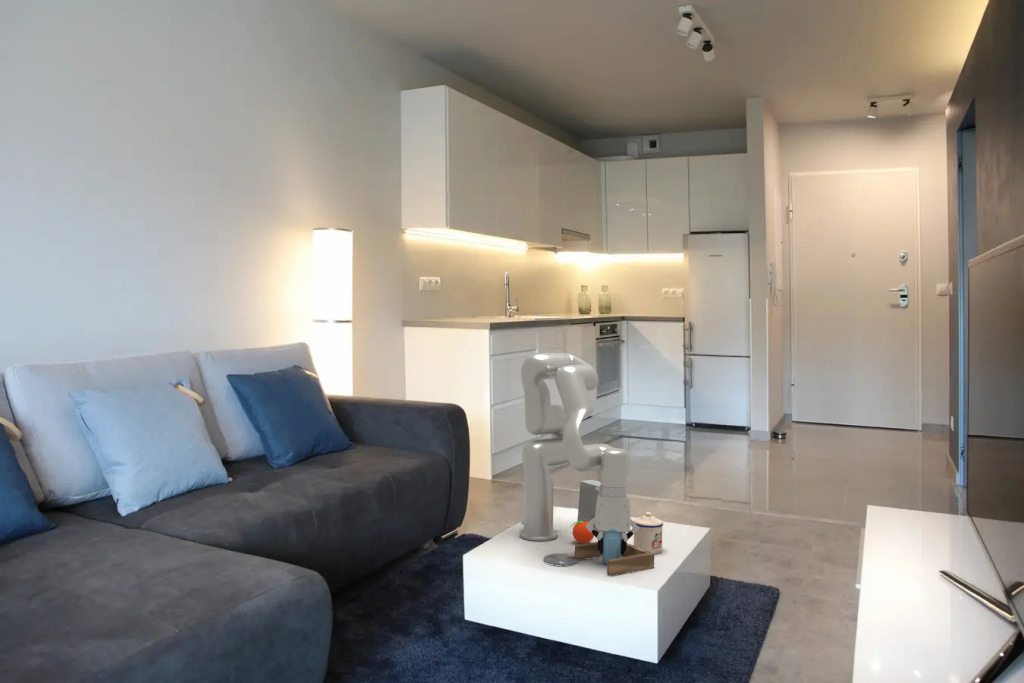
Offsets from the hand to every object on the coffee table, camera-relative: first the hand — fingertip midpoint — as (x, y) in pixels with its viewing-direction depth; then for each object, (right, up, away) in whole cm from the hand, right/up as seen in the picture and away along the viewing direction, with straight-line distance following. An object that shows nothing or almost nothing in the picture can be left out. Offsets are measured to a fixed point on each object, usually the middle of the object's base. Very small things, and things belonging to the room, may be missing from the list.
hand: (611, 552), depth 217 cm
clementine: (-7, -3, +20) cm, 21 cm away
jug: (0, -3, -1) cm, 3 cm away
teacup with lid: (+14, -3, +15) cm, 20 cm away
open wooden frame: (0, -3, 0) cm, 3 cm away
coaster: (-15, -3, +2) cm, 15 cm away
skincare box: (-1, -3, +38) cm, 38 cm away
